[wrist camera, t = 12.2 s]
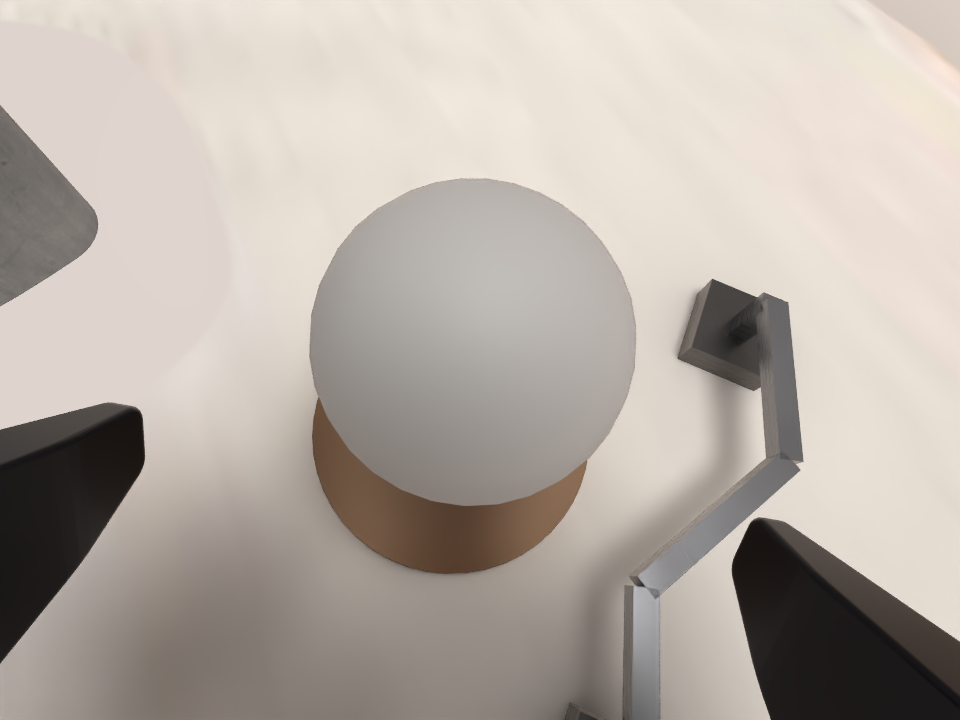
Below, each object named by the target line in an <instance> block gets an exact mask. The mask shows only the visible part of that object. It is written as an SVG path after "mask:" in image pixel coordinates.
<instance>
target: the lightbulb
mask: <svg viewBox="0 0 960 720" xmlns="http://www.w3.org/2000/svg"><path fill="white" fill-rule="evenodd" d="M635 349H636V323H635V317H634V311H633V305H632V299H631V296H630V294H629V291H628V288H627V286H626V283H625V281H624V278H623V275H622V273H621V271H620V269H619V268H618V266H617V264H616V263H615V261H614V260H613V258H612V256H611V255H610V253H609V251H608V250H607V248H606V247H605V245H604V244H603V243H602V241H601V240H600V239H599V238H598V237H597V236H596V234H595V233H594V232H593V231H592V230H591V229H590V228H589V227H588V226H587V224H586V223H585V222H584V221H583V220H581V219H580V218H579V217H577V216H576V215H575V214H574V213H572V212H571V211H570V210H569V209H567V208H566V207H565V206H563V205H562V204H560V203H558V202H556V201H554V200H553V199H551V198H549V197H547V196H545V195H544V194H542V193H540V192H537V191H534V190H531V189H529V188H526V187H523V186H520V185H517V184H514V183H509V182H503V181H497V180H492V179H463V178H461V179H455V180H448V181H442V182H435V183H432V184H429V185H426V186H423V187H420V188H417V189H414V190H411V191H409V192H407V193H405V194H403V195H401V196H399V197H398V198H396V199H394V200H392V201H390V202H388V203H387V204H385V205H383V206H381V207H379V208H378V209H376V210H375V211H374V212H373V213H372V214H370V215H369V216H368V217H367V218H365V219H364V220H363V221H362V222H361V223H359V224H358V225H357V226H356V227H355V228H354V229H353V231H352V232H351V233H350V234H349V235H348V237H347V238H346V239H345V240H344V242H343V243H342V244H341V245H340V247H339V248H338V249H337V251H336V253H335V255H334V257H333V259H332V261H331V263H330V265H329V267H328V269H327V271H326V273H325V275H324V277H323V279H322V281H321V283H320V285H319V288H318V291H317V295H316V299H315V303H314V306H313V310H312V314H311V332H310V354H309V357H310V362H311V368H312V374H313V380H314V385H315V389H316V391H317V393H318V396H319V398H320V401H321V403H322V406H323V408H324V411H325V413H326V415H327V417H328V419H329V421H330V422H331V424H332V425H333V427H334V428H335V430H336V431H337V433H338V434H339V436H340V437H341V439H342V440H343V441H344V443H345V444H346V446H347V447H348V449H349V450H350V451H351V452H352V453H353V454H354V455H355V456H356V457H357V458H358V459H359V460H360V461H361V462H363V463H364V464H365V465H366V466H367V467H368V468H369V469H370V470H371V471H372V472H373V473H375V474H376V475H378V476H380V477H381V478H383V479H385V480H386V481H388V482H389V483H391V484H393V485H394V486H396V487H397V488H399V489H401V490H403V491H406V492H409V493H411V494H414V495H417V496H420V497H422V498H425V499H428V500H430V501H435V502H441V503H448V504H455V505H461V506H476V505H495V504H501V503H505V502H509V501H513V500H517V499H520V498H524V497H528V496H531V495H533V494H535V493H537V492H539V491H541V490H543V489H545V488H547V487H549V486H551V485H553V484H555V483H557V482H558V481H560V480H562V479H563V478H565V477H566V476H567V475H568V474H570V473H571V472H572V471H573V470H575V469H576V468H577V467H579V466H580V465H581V464H582V463H584V462H585V461H586V460H587V459H589V458H590V457H591V455H592V454H593V453H594V452H595V450H596V449H597V448H598V447H599V445H600V444H601V443H602V442H603V441H604V439H605V438H606V437H607V436H608V434H609V433H610V431H611V429H612V427H613V425H614V423H615V421H616V419H617V417H618V415H619V413H620V411H621V409H622V407H623V405H624V403H625V400H626V398H627V396H628V392H629V388H630V384H631V380H632V376H633V372H634V368H635Z"/></svg>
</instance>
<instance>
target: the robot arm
mask: <svg viewBox="0 0 960 720" xmlns="http://www.w3.org/2000/svg"><path fill="white" fill-rule="evenodd" d="M144 460H145V447H144V431H143V418H142V414H141V411H140V410H139V409H137V408H136V407H133V406H128V405H122V404H117V403H103V404H99V405H95V406H92V407H87V408H84V409H80V410H76V411H72V412H68V413H64V414H60V415H56V416H52V417H48V418H44V419H40V420H37V421H33V422H29V423H25V424H21V425H17V426H14V427H9V428H5V429H2V430H0V663H1V662H2V661H3V659H4V658H5V657H6V656H7V655H8V653H9V652H10V651H11V650H12V648H13V647H14V646H15V645H16V643H17V642H18V641H19V640H20V638H21V637H22V636H23V635H24V634H25V632H26V631H27V630H28V629H29V627H30V626H31V625H32V624H33V622H34V621H35V620H36V619H37V617H38V616H39V615H40V614H41V613H42V611H43V610H44V609H45V608H46V606H47V605H48V604H49V603H50V601H51V600H52V599H53V598H54V596H55V595H56V594H57V593H58V592H59V590H60V589H61V588H62V587H63V585H64V584H65V583H66V582H67V580H68V579H69V578H70V577H71V575H72V574H73V573H74V571H75V570H76V569H77V568H78V566H79V565H80V564H81V562H82V561H83V559H84V558H85V557H86V555H87V554H88V552H89V551H90V549H91V548H92V546H93V545H94V543H95V542H96V540H97V539H98V537H99V536H100V534H101V533H102V531H103V530H104V528H105V526H106V525H107V523H108V522H109V520H110V519H111V517H112V516H113V514H114V513H115V511H116V510H117V508H118V507H119V505H120V503H121V502H122V500H123V499H124V497H125V496H126V494H127V493H128V491H129V490H130V488H131V487H132V485H133V484H134V482H135V481H136V479H137V477H138V476H139V474H140V472H141V470H142V468H143V465H144ZM732 577H733V582H734V586H735V590H736V594H737V599H738V603H739V607H740V611H741V615H742V620H743V624H744V628H745V632H746V637H747V641H748V645H749V649H750V653H751V658H752V662H753V665H754V669H755V673H756V676H757V679H758V683H759V686H760V689H761V692H762V695H763V698H764V701H765V704H766V707H767V710H768V713H769V715H770V718H771V720H960V641H958V640H957V639H955V638H954V637H952V636H951V635H949V634H948V633H946V632H945V631H943V630H942V629H941V628H939V627H938V626H936V625H935V624H933V623H932V622H930V621H929V620H927V619H926V618H925V617H923V616H922V615H920V614H919V613H917V612H916V611H914V610H913V609H911V608H910V607H908V606H907V605H906V604H904V603H903V602H901V601H900V600H898V599H897V598H895V597H894V596H892V595H891V594H889V593H888V592H887V591H885V590H884V589H882V588H881V587H879V586H878V585H876V584H875V583H873V582H872V581H871V580H869V579H868V578H866V577H865V576H863V575H862V574H860V573H859V572H857V571H856V570H854V569H853V568H852V567H850V566H849V565H847V564H846V563H844V562H843V561H841V560H840V559H838V558H837V557H836V556H834V555H833V554H831V553H830V552H828V551H827V550H825V549H824V548H822V547H821V546H819V545H818V544H817V543H815V542H814V541H812V540H811V539H809V538H808V537H806V536H805V535H803V534H802V533H801V532H799V531H798V530H796V529H795V528H793V527H792V526H790V525H789V524H787V523H785V522H783V521H779V520H773V519H767V518H761V517H758V518H756V519H754V520H753V521H752V522H751V523H750V524H749V526H748V528H747V530H746V533H745V535H744V537H743V539H742V541H741V543H740V546H739V548H738V550H737V552H736V554H735V556H734V559H733V563H732Z"/></svg>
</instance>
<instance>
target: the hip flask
mask: <svg viewBox="0 0 960 720" xmlns="http://www.w3.org/2000/svg"><path fill="white" fill-rule="evenodd" d="M97 230H98V220H97V216H96V213H95V211H94V209H93V208H92V207H91V206H90V205H89V203H88V202H87V201H86V200H85V199H84V198H83V197H82V196H81V195H80V194H79V192H78V191H77V190H76V189H75V188H74V187H73V186H72V185H71V184H70V182H69V181H68V180H67V179H66V178H65V177H64V176H63V175H62V173H61V172H60V171H59V170H58V169H57V168H56V167H55V166H54V165H53V163H52V162H51V161H50V160H49V159H48V158H47V157H46V156H45V154H44V153H43V152H42V151H41V150H40V149H39V148H38V147H37V146H36V144H35V143H34V142H33V141H32V140H31V139H30V138H29V137H28V136H27V134H26V133H25V132H24V131H23V130H22V129H21V128H20V127H19V126H18V124H17V123H15V121H14V120H13V119H12V118H11V117H10V116H9V114H8V113H7V112H6V111H5V110H4V109H3V108H2V107H1V106H0V306H1V305H3V304H5V303H7V302H9V301H10V300H12V299H14V298H16V297H17V296H19V295H20V294H22V293H24V292H25V291H27V290H28V289H30V288H32V287H33V286H35V285H37V284H38V283H40V282H41V281H43V280H45V279H46V278H48V277H49V276H51V275H52V274H54V273H55V272H57V271H58V270H60V269H61V268H63V267H64V266H66V265H67V264H69V263H71V262H72V261H74V260H75V259H77V258H78V257H79V256H80V255H82V254H83V253H84V252H85V251H86V250H87V249H88V248H89V247H90V246H91V244H92V242H93V241H94V239H95V237H96V234H97Z"/></svg>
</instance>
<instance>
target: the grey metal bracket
mask: <svg viewBox="0 0 960 720" xmlns="http://www.w3.org/2000/svg"><path fill="white" fill-rule="evenodd" d="M678 359H679V360H682V361H684V362H687V363H689V364H691V365H694V366H696V367H698V368H701V369H703V370H705V371H708V372H710V373H712V374H715V375H717V376H720V377H722V378H724V379H727V380H729V381H731V382H734V383H736V384H738V385H741V386H743V387H745V388H748V389H750V390H753V391H754V390H756V389H758V388H760V387H761V393H762V407H763V421H764V435H765V449H766V459H764V460H763V461H762V462H761V463H760V464H759V465H758V466H756V467H755V468H754V469H753V470H752V471H751V472H749V473H748V474H747V475H746V476H745V477H744V478H742V479H741V480H740V481H739V482H738V483H737V484H735V485H734V486H733V487H732V488H731V489H730V490H728V491H727V492H726V493H725V494H724V495H723V496H721V497H720V498H719V499H718V500H717V501H716V502H714V503H713V504H712V505H711V506H710V507H709V508H707V509H706V510H705V511H704V512H703V513H702V514H700V515H699V516H698V517H697V518H696V519H695V520H693V521H692V522H691V523H690V524H689V525H688V526H686V527H685V528H684V529H683V530H682V531H681V532H680V533H678V534H677V535H676V536H675V537H674V538H673V539H671V540H670V541H669V542H668V543H667V544H666V545H664V546H663V547H662V548H661V549H660V550H659V551H657V552H656V553H655V554H654V555H653V556H652V557H650V558H649V559H648V560H647V561H646V562H645V563H643V564H642V565H641V566H640V567H639V568H638V569H636V570H635V571H634V572H633V573H632V574H631V575H629V577H630V578H631V580H632V581H633V583H634V584H635V585H636V586H625V595H624V654H623V713H622V720H660V595H661V594H662V593H663V592H664V591H665V590H666V589H668V588H669V587H670V586H671V585H672V584H673V583H674V582H675V581H677V580H678V579H679V578H680V577H681V576H682V575H683V574H684V573H686V572H687V571H688V570H689V569H690V568H691V567H692V566H693V565H695V564H696V563H697V562H698V561H699V560H700V559H701V558H702V557H703V556H705V555H706V554H707V553H708V552H709V551H710V550H711V549H712V548H714V547H715V546H716V545H717V544H718V543H719V542H720V541H721V540H723V539H724V538H725V537H726V536H727V535H728V534H729V533H730V532H732V531H733V530H734V529H735V528H736V527H737V526H738V525H739V524H741V523H742V522H743V521H744V520H745V519H746V518H747V517H748V516H750V515H751V514H752V513H753V512H754V511H755V510H756V509H757V508H759V507H760V506H761V505H762V504H763V503H764V502H765V501H766V500H768V499H769V498H770V497H771V496H772V495H773V494H774V493H775V492H776V491H778V490H779V489H780V488H781V487H782V486H783V485H784V484H785V483H787V482H788V481H789V480H790V479H791V478H792V477H793V476H794V475H796V474H797V473H798V472H799V471H800V469H799V468H798V467H797V465H796V464H797V463H801V462H803V453H802V442H801V432H800V421H799V411H798V400H797V390H796V380H795V369H794V359H793V348H792V338H791V327H790V317H789V306H788V302H785V301H783V300H781V299H778V298H776V297H774V296H771V295H769V294H766V293H762V294H761V295H760V296H759V297H755V296H752V295H750V294H747V293H745V292H743V291H740V290H738V289H735V288H733V287H731V286H728V285H726V284H723V283H721V282H719V281H716V280H714V279H712V280H711V281H710V282H709V283H708V284H707V285H706V286H705V287H704V288H703V289H702V290H701V291H700V292H699V293H698V294H697V298H696V301H695V304H694V307H693V310H692V314H691V317H690V320H689V323H688V327H687V330H686V333H685V336H684V339H683V343H682V346H681V349H680V352H679V355H678ZM565 720H607V719H605V718H603V717H601V716H599V715H596V714H594V713H592V712H590V711H588V710H586V709H583V708H581V707H579V706H577V705H575V704H573V703H571V702H570V705H569V708H568V711H567V714H566V717H565Z"/></svg>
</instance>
